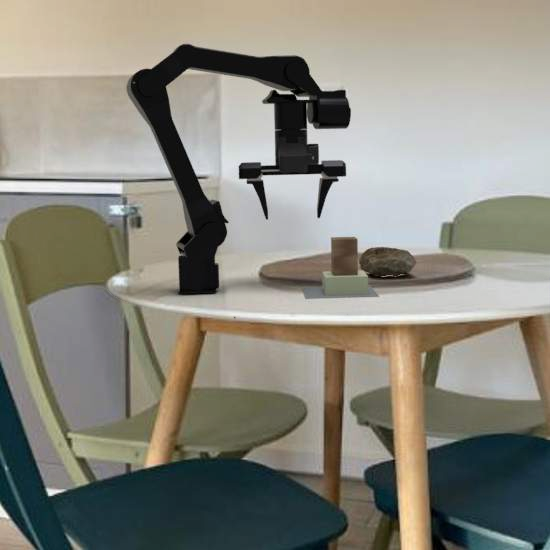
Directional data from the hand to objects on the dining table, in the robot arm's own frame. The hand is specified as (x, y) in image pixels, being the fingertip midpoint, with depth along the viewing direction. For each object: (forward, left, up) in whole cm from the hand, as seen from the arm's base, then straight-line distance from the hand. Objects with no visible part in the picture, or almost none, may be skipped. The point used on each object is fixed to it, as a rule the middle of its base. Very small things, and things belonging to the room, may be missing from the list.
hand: (292, 218), depth 166 cm
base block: (+8, -11, -12) cm, 18 cm away
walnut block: (+8, -11, -9) cm, 16 cm away
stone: (+18, +7, -12) cm, 23 cm away
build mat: (+7, -11, -12) cm, 18 cm away
